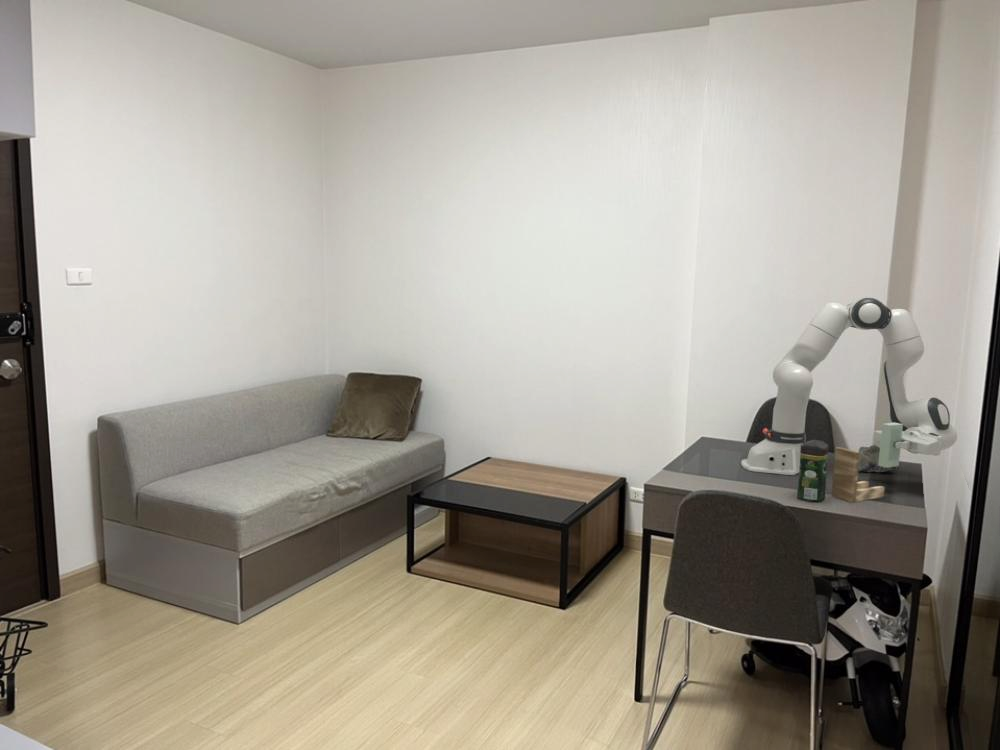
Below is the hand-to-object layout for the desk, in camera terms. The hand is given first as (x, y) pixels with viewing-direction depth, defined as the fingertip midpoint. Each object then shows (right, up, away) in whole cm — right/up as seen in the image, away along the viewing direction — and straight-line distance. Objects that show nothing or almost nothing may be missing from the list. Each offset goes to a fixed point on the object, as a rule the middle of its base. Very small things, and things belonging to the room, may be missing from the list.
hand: (888, 443), depth 249 cm
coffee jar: (-28, -17, -5) cm, 33 cm away
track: (-12, -17, -3) cm, 21 cm away
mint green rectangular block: (+1, -7, +2) cm, 8 cm away
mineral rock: (+9, -13, +26) cm, 31 cm away
